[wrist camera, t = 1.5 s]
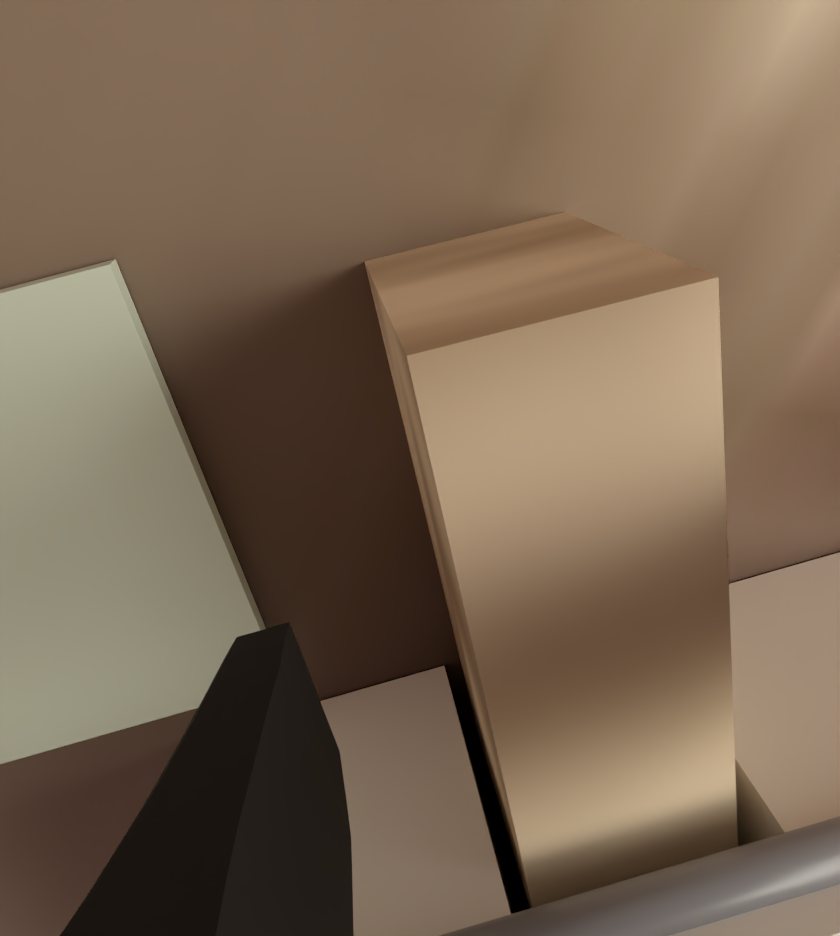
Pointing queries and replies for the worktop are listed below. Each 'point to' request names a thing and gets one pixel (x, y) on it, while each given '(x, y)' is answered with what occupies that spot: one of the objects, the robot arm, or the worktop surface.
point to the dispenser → (643, 897)
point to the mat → (101, 525)
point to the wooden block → (577, 534)
